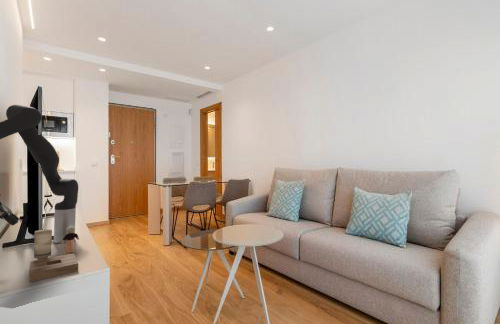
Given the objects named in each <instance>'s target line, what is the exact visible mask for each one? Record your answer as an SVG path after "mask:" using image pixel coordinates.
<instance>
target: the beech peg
mask: <svg viewBox="0 0 500 324" xmlns="http://www.w3.org/2000/svg"><path fill="white" fill-rule="evenodd" d="M52 238H53V229H50V228H49V229H47V228H45V229H39V230H35V231H34V239H33V240H34V242H33V244H34V245H33V246H34V248H33V259H36V260H40V259H46V258H50V257H51V256H52V247H53V246H52V243H53V239H52Z"/></svg>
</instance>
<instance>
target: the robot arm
mask: <svg viewBox="0 0 500 324" xmlns="http://www.w3.org/2000/svg"><path fill="white" fill-rule="evenodd" d="M5 116H6V119H4V120H3V121H0V140H2V139H5V138H7V137H10V136H11V135H14V134H19V136H20V138H21V139H22V141H23V143H24V144H25V147H27V149H28V151H29V153H30V155H31V156H32V157H33V159H34V161H35V162H36V164H37V163H40V165H41V168H42V171H41V173H42V174H43V176H44V177H45V180H46V182H47V185H48V187H49V189H50V191H51V193H52V194H53V195H55V196H58V197H63V200H62V201H60V202H57V203H55V204H54V220H53V221H54V222H53V223H54V224H53V242H54V243H55V244H58V243H59V244H61V242H62V240H63V238H64V237H65V236H66V234H68V231H67V230H66V229H67V227H69V226H74V227H75V228H76V217H77V216H76V214H77V213H76V208H77V204H78V197H79V183H78V181H77V179H74V178H62V177H61V176H60V174H59V171H58V167H59V165H60V164H59V163H60V155H58V152H57V150H56V149H55V147H54V146H53V144H52V143H51V142H50V141H49V140H48V139H47V138H46V137H45V136H44V135H43V134H42V133H40V135H38V131H39V130H38V129H37V126H38V125H39V124H40V123H41V122H42V118H43V117H42V116H43V115H42V114H41V111H39V110H38V109H36V108H35V107H32V106H28V105H22V104H12V105H10V106H9V107H8V108H7V109H6V112H5ZM1 195H2V194H1V193H0V197H1ZM0 219H2V220H4V221H6V223H8V224H10V225H11V226H14V225H16V224H18V223H19V221H20V218H19V217H18V216H17V215H15V214H14V213H13V211H12V210H11V209H10V207H8V206H7V205H5V203H4V202H2V201H0ZM73 233H76V229H75V230H74V232H73ZM74 240H76V238H74ZM64 243H66V240H65V241H64Z"/></svg>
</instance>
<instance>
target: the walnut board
mask: <svg viewBox="0 0 500 324" xmlns="http://www.w3.org/2000/svg"><path fill="white" fill-rule="evenodd" d="M75 272H79V261H78V259H77V257H76V255H75V253H70V254H68V255H64V254H63V255H58V256H53V257H51V256H50V257H48V258H46V259H40V260H37V259H36V260H30V261H29V283H31V282H35V281H39V280H44V279H49V278H54V277H57V276H62V275H67V274H71V273H75Z"/></svg>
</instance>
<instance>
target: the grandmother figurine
mask: <svg viewBox="0 0 500 324" xmlns="http://www.w3.org/2000/svg"><path fill="white" fill-rule="evenodd" d="M66 230H67V231H68V234H66V236H65V237H64V238H63V240H62V242H61V243H60V244H61V245H63V244H64V243H65V246H64V253H63V255H68V254H73V253H74V254H75V253H76V251H75V240H77V241H78V240H80V237H79V235H78V233H76V232H75V233H73V232H74V230H75V231H76V226H75V227H74V226H69V227H67V229H66ZM74 238H75V239H74ZM65 240H66V242H64V241H65Z"/></svg>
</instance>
